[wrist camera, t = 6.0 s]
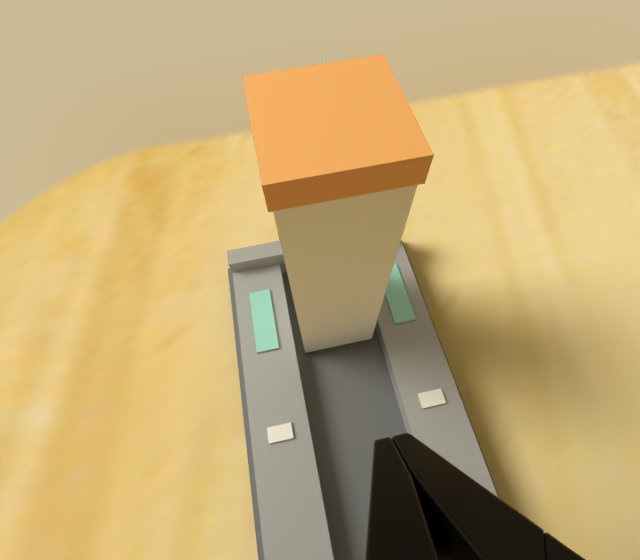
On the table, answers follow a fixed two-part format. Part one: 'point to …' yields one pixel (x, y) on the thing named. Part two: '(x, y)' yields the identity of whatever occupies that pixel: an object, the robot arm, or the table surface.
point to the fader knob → (337, 186)
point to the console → (335, 408)
